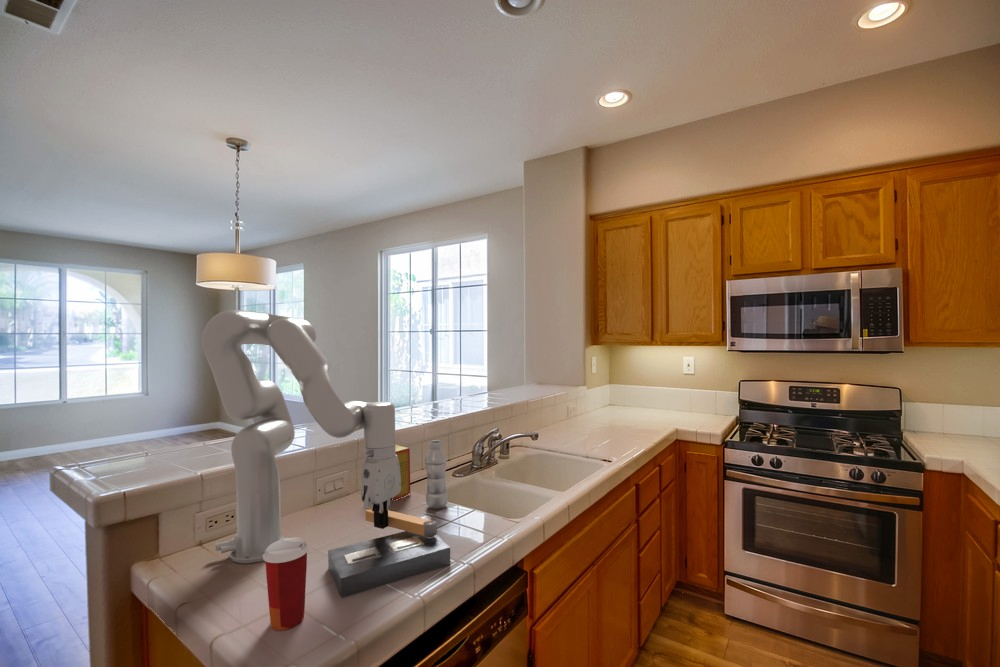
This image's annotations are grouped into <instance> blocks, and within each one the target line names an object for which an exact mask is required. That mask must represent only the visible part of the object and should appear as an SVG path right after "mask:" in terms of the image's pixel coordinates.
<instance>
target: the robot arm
mask: <svg viewBox="0 0 1000 667" xmlns="http://www.w3.org/2000/svg"><path fill="white" fill-rule="evenodd" d="M316 338H317V332H316V330H315V328H314V326H313V325H312V324H311V323H310V322H309V321H308V320H305V319H303V318H295V317H288V316H283V315H277V314H271V313H265V312H260V311H251V310H249V311H248V310H242V309H230V310H229V309H227V310H224V311H221V312H219V313H217V314H215V315H214V316H212V318H210V319H209V320H208V322H207V323H206V325H205V326H204V328H203V331H202V336H201V346H202V351H203V354H204V356H205V359H206V360H207V363H208V365H209V368H210V370H211V372H212V375H213V379H214V382H215V385H216V388H217V392H218V394H219V397H220V399H221V400H220V401H221V403H222V406H223V408H224V411H225V413H226V415H227V416H228V417H229V418H230V419H231V420H233V421H236V422H237V421H238V422H241V421H242V422H243V421H247V420H251V419H252V420H253V423H251V424H248V425H247V426H245V427H243V428H242V429H240V430H239V431H238V432H237V433H236V434H235V435H234V438H233V439H232V441H231V447H230V448H231V457H232V462H233V465H234V471H235V486H236V487H235V490H236V533H235V537H232V538H230V540H226V541H219V542H218V541H217V542H215V548H214V549H215V552H219V551H221V553H220V554H224V553H228V552H229V554H230V555H229V558H230V560H231V562H232V561H233V562H234V563H238V564H252V563H258V562H262V561H264V559H263V554H264V553H265V550H266V549H267V547H268V546H269V545H271V544H272V543H274V542H276V541H279V540H282V539H286V537H285V536H283V535H282V524H281V519H282V518H281V517H282V516H281V513H282V512H281V476H280V470H279V466H278V463H277V460H276V455H278V454H280V453H282V452H284V451H285V450H287V449H288V448H289V447H291V446H292V444H293V442H294V439H295V426H294V423H293V420H292V417H291V415H290V412H289V409H288V405H287V402H286V399H285V397H284V395H283V394H284V393H283V392H282V391H281V389H280V387H279V386H278V385H277V384H276V383H275V382H274V381H272V380H269V379H266V378H264V379H263V378H258V379H257V376H256V375H255V371H254V369H253V365H252V363H251V360H250V359H249V357H248V355H247V354H246V353H245V352H244V351H243V349H242V345H262V346H270V347H271V348H272V349H273V352H275V354H276V355H277V356H278V358H280V361H282V362H283V364H284V365H285V367H287V369H288V370H289V372H290V373H291V374H292V376H293V377H294V378H295V379H296V381H297V382H298V384H299V389H300V392H301V393H300V394H301V396H302V399H303V402H304V404H305V406H306V409H307V411H308V413H310V416H312V417H313V419H314V420H315V421H316V423H317V424H318V425H319V426H320V428H321V429H322V430H323V431H324V432H325V433H326V434H328V435H329V436H331V437H333V438H336V439H340V438H341V439H342V438H346V437H348V436H350V435H352V434H353V433H355V432H357V431H359V430H363V454H362V456H363V459H364V460H363V462H362V466H361V467H362V468H361V476H360V477H361V479H360V497H361V501H362V502H363V510H372V512H374V523H373V527H374V528H377V529H381V530H382V529H385V528H388V527H389V526H388V510H389V511H390V507H391V502H392V499H393V498H394V497H395V496H396V495H397V494H399V493H400V491H401V475H400V466H399V460H398V456H397V455H396V448H395V445H396V410H395V409H396V407H395V405H394V404H393V403H392V402H390V401H372V402H370V401H369V402H366V401H361V400H360V401H359V400H349V401H346V402H343V401H342V400H341V399H340V397H339V396H338V395H337V393H336V391H335V390H334V388H333V386H332V384H331V382H330V376H329V374H330V368H331V365H330V362H329V360H328V358H327V357H326V356H325V354H324V353H323V352H322V351H321V350H320V348H319V347H318V346H317V344H316V343H315V342H316ZM264 562H265V561H264Z"/></svg>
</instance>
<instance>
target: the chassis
mask: <svg viewBox="0 0 1000 667" xmlns="http://www.w3.org/2000/svg"><path fill="white" fill-rule="evenodd" d="M327 563H328V564H327V565H328V566H327V567H328V570H329V573H330V575H331V577H332V580H333V582H334V584H335V587H336V589H337V591H338V594H339V596H340V599H344V598H346V597H347V598H348V597H351V596H353V595H357V594H359V593H363V592H366V591H371V590H373V589H377V588H380V587H383V586H386V585H390V584H393V583H396V582H400V581H402V580H403V581H404V580H405V579H409V578H412V577H416V576H418V575H421V574H422V575H423V574H425V573H428V572H429V573H430V572H432V571H434V570H438V569H441V568H444V567H447V566H451V547H450V545H448V544H447V543H446V542H445V541H444V540H443V539H442V538H441V537H440V536H439V535H438V533H437V534H436V535H435V536H432V537H426V536H423V535H419V534H416V533H412V532H408V531H404V530H403V531H401V532H397V533H393V534H389V535H384V536H380V537H377V538H373V539H369V540H364V541H360V542H357V543H352V544H349V545H345V546H341V547H337V548H332V549H329V550H328V551H327ZM389 583H390V584H389ZM382 585H383V586H382ZM379 586H380V587H379ZM376 587H377V588H376Z"/></svg>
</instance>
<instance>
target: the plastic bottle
mask: <svg viewBox="0 0 1000 667" xmlns="http://www.w3.org/2000/svg"><path fill="white" fill-rule="evenodd" d="M428 448H429V451H428V452H427V453H426V455H425V458H424V463H425V468H426V469H425V470H426V477H427V479H426V480H427V485H426V487H427V488H426V496H425V501H426V506H428V508H430V509H433V510H434V509H435V510H436V509H437V510H438V509H443V508H445V507H446V506H447V504H448V499H449V497H448V491H447V484H446V469H447V456H446V454H445V452H444V451H443V450H442V448H443V443H442V441H441V440H431V441H429V447H428Z"/></svg>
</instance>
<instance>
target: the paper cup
mask: <svg viewBox="0 0 1000 667" xmlns="http://www.w3.org/2000/svg"><path fill="white" fill-rule="evenodd" d="M285 538H286V537H285ZM307 543H308V542H307V541H306V539H304V538H301V537H287V538H286V539H282V540H279V541H276V542H274V543H272V544H271V545H269V546H268V547H267V549H266V550H265V553H264V554H263V559H264V562H265V574H266V575H265V576H266V584H267V585H266V586H267V596H268V597H267V598H268V600H267V602H268V609H269V620H270V622H269V623H270V627H271V629H272V630H275V631H280V632H281V631H287V630H291V629H293V628H295V627H297V626H298V625H300V624H301V623H302V622H303V620H304V619H305V606H306V584H307V568H308V566H307V564H308V562H307V561H308V552H309V550H310V546H309V545H308V544H307Z"/></svg>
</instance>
